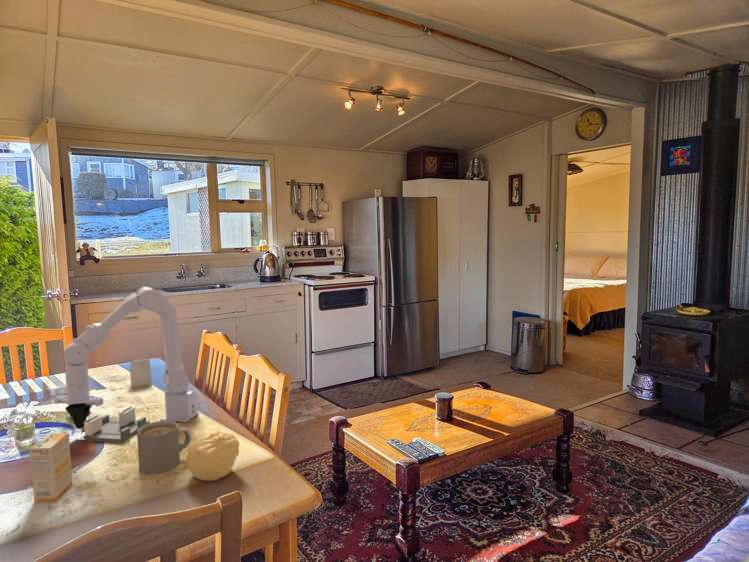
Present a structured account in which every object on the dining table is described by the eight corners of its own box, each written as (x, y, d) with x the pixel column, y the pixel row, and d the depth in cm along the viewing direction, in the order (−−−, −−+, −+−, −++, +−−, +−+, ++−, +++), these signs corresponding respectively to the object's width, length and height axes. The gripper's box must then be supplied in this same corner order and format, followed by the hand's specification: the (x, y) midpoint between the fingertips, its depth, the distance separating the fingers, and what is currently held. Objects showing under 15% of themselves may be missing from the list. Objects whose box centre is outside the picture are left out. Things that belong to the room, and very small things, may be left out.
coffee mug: (142, 477, 126) (140, 439, 125) (136, 461, 135) (134, 425, 133) (197, 463, 133) (195, 427, 132) (188, 449, 142) (187, 415, 141)
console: (149, 424, 159) (149, 415, 159) (121, 443, 146) (120, 433, 145) (109, 421, 161) (108, 412, 161) (77, 440, 148) (77, 430, 147)
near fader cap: (102, 428, 152) (101, 414, 152) (90, 435, 147) (90, 421, 147) (96, 428, 153) (95, 414, 152) (84, 435, 148) (83, 420, 147)
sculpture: (210, 491, 120) (209, 447, 119) (178, 477, 126) (176, 436, 125) (246, 471, 129) (245, 431, 128) (214, 459, 136) (213, 421, 135)
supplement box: (52, 484, 123) (48, 432, 121) (73, 483, 123) (69, 432, 122) (32, 503, 115) (28, 447, 113) (54, 502, 115) (50, 447, 114)
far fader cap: (135, 419, 159) (134, 406, 159) (125, 425, 154) (124, 412, 154) (129, 419, 160) (128, 405, 159) (119, 425, 155) (118, 411, 154)
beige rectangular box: (151, 384, 199) (150, 359, 198) (133, 387, 195) (131, 362, 194) (149, 382, 202) (147, 357, 201) (130, 385, 198) (129, 360, 197)
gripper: (44, 386, 146) (48, 431, 148) (90, 388, 144) (93, 434, 146) (63, 379, 153) (66, 422, 155) (106, 381, 151) (109, 424, 152)
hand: (80, 427), depth 151 cm, fingers closed
